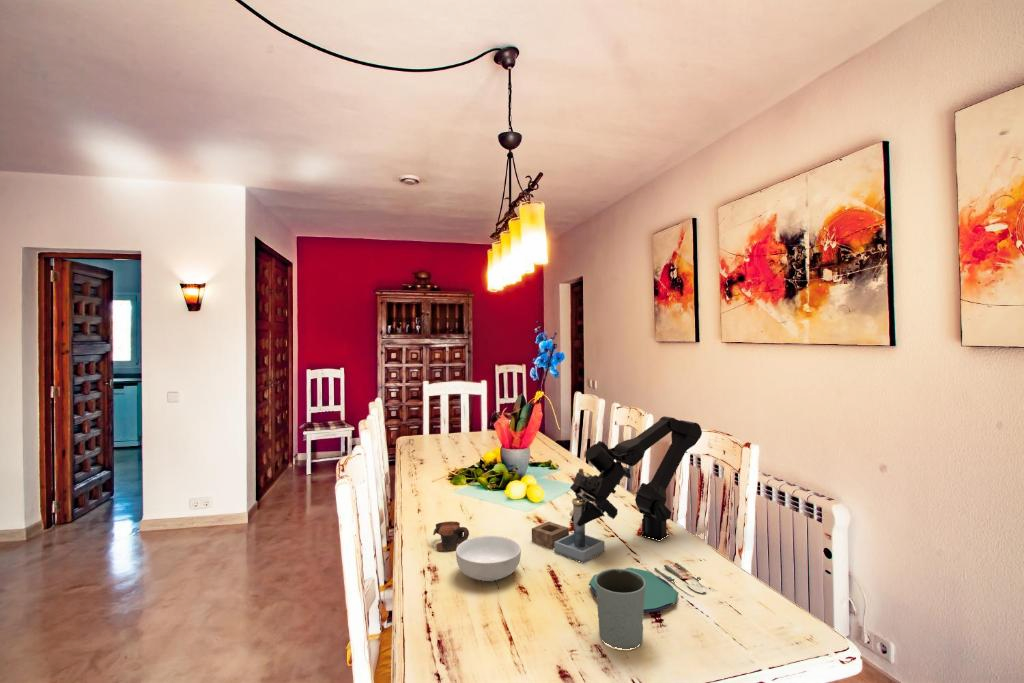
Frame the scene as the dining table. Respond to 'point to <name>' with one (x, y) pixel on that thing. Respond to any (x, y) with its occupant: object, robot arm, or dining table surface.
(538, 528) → the walnut block
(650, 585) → the cutlery set
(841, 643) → the dining table surface
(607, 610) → the grey cylindrical pot
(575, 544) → the pin
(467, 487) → the dining table surface
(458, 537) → the brown clay jug
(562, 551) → the slate tray
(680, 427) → the robot arm
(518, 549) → the cereal bowl
